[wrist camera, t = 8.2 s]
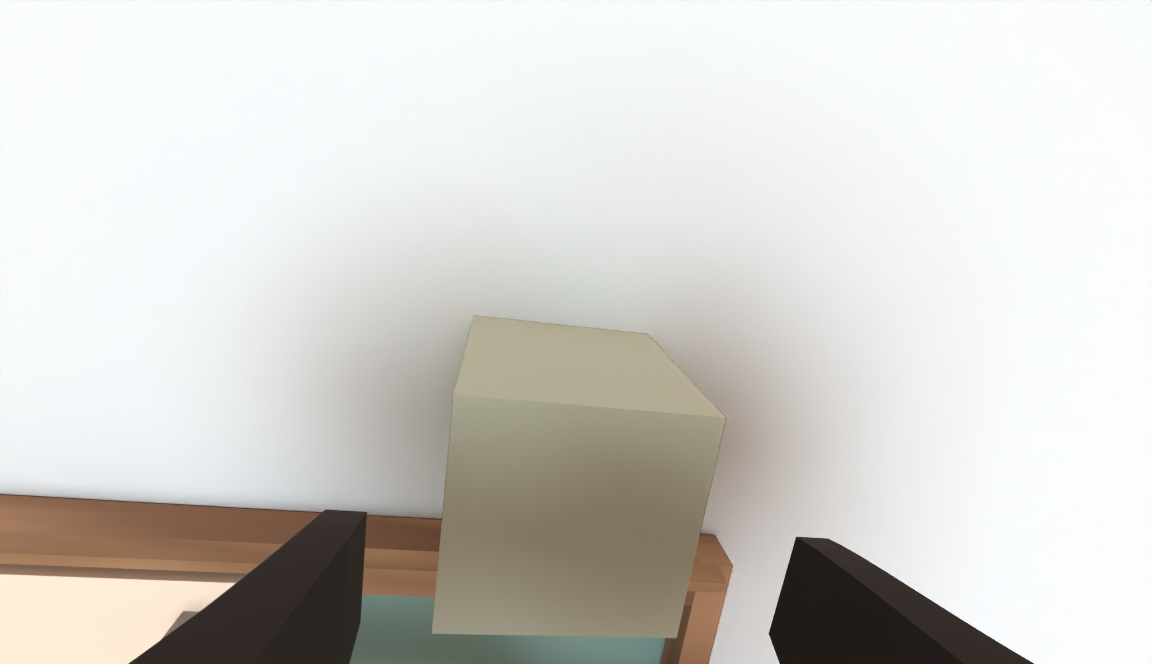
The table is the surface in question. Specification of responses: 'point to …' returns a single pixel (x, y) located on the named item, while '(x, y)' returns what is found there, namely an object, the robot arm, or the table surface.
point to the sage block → (571, 484)
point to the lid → (96, 611)
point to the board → (390, 579)
